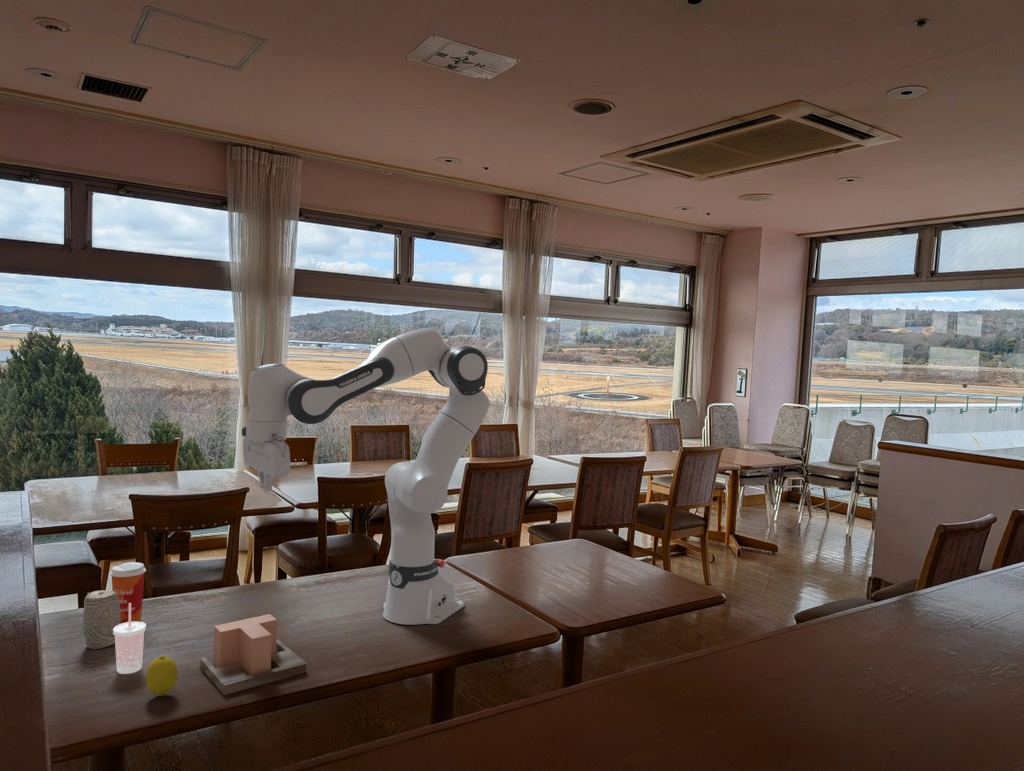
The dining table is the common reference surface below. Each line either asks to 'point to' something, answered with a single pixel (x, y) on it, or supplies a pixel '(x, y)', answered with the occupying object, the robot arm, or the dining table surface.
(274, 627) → the t block
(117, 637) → the beverage cup
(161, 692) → the lemon
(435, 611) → the robot arm
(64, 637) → the dining table surface
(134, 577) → the paper cup
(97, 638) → the carving
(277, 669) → the t dock
